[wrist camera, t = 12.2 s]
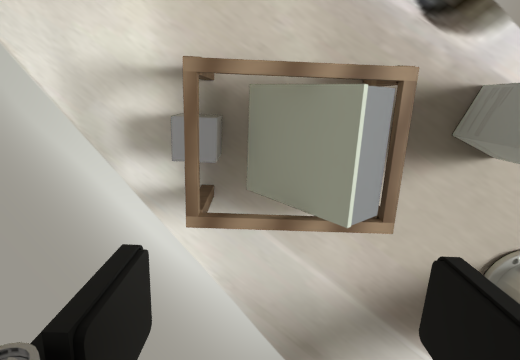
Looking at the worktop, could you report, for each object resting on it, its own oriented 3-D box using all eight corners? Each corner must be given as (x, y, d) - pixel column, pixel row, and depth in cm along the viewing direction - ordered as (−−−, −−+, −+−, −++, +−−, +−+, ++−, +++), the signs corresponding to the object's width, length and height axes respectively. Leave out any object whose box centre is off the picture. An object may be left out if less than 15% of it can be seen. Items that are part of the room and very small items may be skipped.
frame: (376, 73, 39) (421, 65, 29) (360, 201, 44) (394, 235, 33) (201, 65, 39) (180, 54, 28) (202, 196, 43) (184, 229, 32)
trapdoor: (395, 87, 29) (364, 83, 26) (376, 216, 33) (347, 228, 29) (282, 86, 40) (249, 84, 37) (276, 183, 44) (246, 189, 40)
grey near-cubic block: (170, 116, 35) (183, 113, 40) (172, 160, 36) (183, 151, 42) (216, 118, 35) (222, 115, 41) (216, 162, 36) (221, 153, 42)
